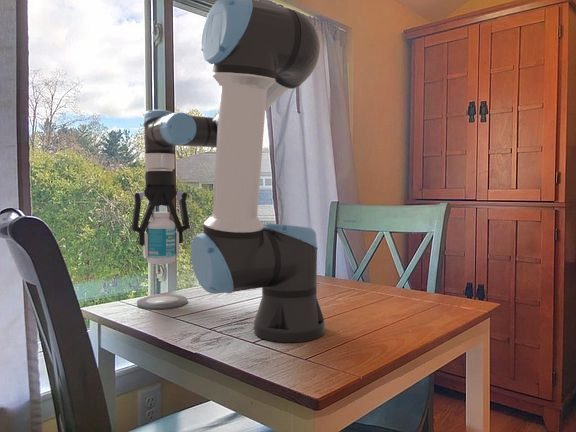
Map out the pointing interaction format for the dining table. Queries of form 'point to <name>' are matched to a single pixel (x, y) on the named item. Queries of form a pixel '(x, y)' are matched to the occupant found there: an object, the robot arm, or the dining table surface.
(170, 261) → the pill bottle
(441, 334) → the dining table surface
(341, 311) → the dining table surface
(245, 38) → the robot arm
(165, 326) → the dining table surface
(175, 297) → the coaster
